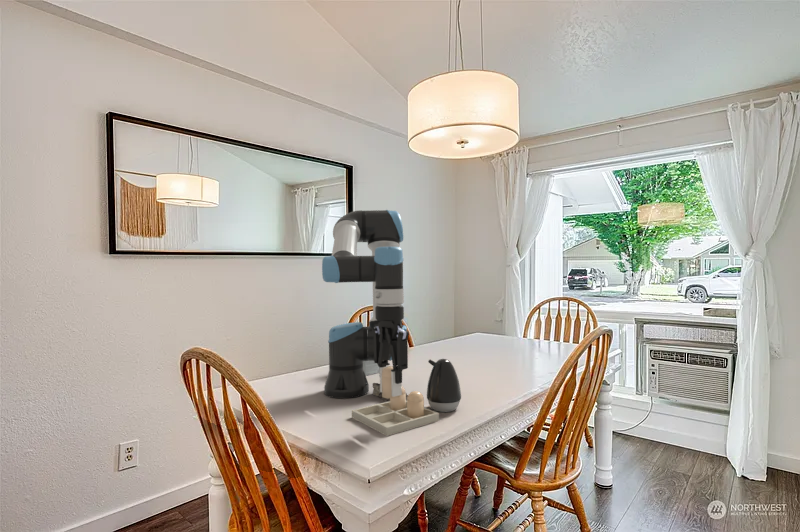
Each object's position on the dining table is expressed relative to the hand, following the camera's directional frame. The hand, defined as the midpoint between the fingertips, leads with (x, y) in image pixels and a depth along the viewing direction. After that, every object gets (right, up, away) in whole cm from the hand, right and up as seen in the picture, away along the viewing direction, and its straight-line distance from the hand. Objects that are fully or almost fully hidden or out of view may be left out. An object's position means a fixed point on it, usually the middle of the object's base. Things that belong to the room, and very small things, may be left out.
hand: (390, 393), depth 118 cm
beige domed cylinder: (+2, -9, +12) cm, 15 cm away
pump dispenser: (+15, -9, +15) cm, 23 cm away
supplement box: (-11, -10, +64) cm, 65 cm away
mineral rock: (-1, -10, +27) cm, 28 cm away
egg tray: (+1, -9, +6) cm, 11 cm away
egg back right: (+7, -9, +5) cm, 12 cm away
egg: (0, -1, 0) cm, 1 cm away
